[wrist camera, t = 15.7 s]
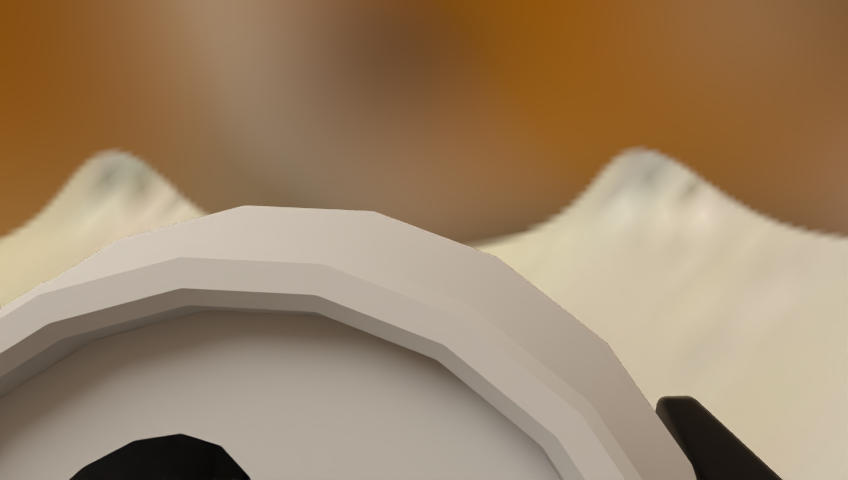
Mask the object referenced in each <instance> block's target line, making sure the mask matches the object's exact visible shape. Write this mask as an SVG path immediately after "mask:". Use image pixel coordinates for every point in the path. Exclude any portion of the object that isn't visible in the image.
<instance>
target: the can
mask: <svg viewBox="0 0 848 480" xmlns="http://www.w3.org/2000/svg"><path fill="white" fill-rule="evenodd" d="M0 480H697V479H696V476H695V473H694V470H693V467H692V464H691V463H690V461H689V460H688V458H687V457H686V455H685V454H684V453H683V451H682V450H681V448H680V447H679V445H678V444H677V443H676V441H675V440H674V438H673V437H672V435H671V434H670V432H669V431H668V430H667V428H666V427H665V425H664V424H663V422H662V421H661V420H660V418H659V417H658V415H657V414H656V412H655V411H654V409H653V408H652V407H651V405H650V404H649V402H648V401H647V399H646V398H645V397H644V395H643V394H642V392H641V391H640V389H639V388H638V386H637V385H636V384H635V382H634V381H633V379H632V378H631V376H630V375H629V374H628V372H627V371H626V369H625V368H624V366H623V365H622V364H621V362H620V361H619V359H618V358H617V356H616V355H615V353H614V352H613V351H612V349H611V348H610V346H609V345H608V343H607V342H605V341H604V340H603V339H602V338H600V337H599V336H598V335H596V334H595V333H594V332H593V331H591V330H590V329H589V328H587V327H586V326H585V325H584V324H582V323H581V322H580V321H579V320H577V319H576V318H575V317H573V316H572V315H571V314H570V313H568V312H567V311H566V310H564V309H563V308H562V307H561V306H559V305H558V304H557V303H556V302H554V301H553V300H552V299H550V298H549V297H548V296H547V295H545V294H544V293H543V292H541V291H540V290H539V289H538V288H536V287H535V286H534V285H532V284H531V283H530V282H529V281H527V280H526V279H525V278H524V277H522V276H521V275H520V274H518V273H517V272H516V271H515V270H513V269H512V268H511V267H509V266H508V265H507V264H506V263H504V262H503V261H502V260H501V259H499V258H498V257H495V256H493V255H490V254H487V253H485V252H482V251H479V250H477V249H474V248H471V247H468V246H466V245H463V244H460V243H458V242H455V241H452V240H450V239H447V238H444V237H442V236H439V235H436V234H434V233H431V232H428V231H425V230H423V229H420V228H417V227H415V226H412V225H409V224H406V223H404V222H401V221H399V220H396V219H393V218H390V217H388V216H385V215H382V214H380V213H377V212H374V211H355V210H354V211H353V210H333V209H311V208H289V207H266V206H241V207H237V208H233V209H229V210H226V211H222V212H218V213H214V214H210V215H207V216H203V217H199V218H195V219H192V220H188V221H184V222H180V223H176V224H173V225H169V226H165V227H161V228H158V229H154V230H150V231H146V232H143V233H139V234H135V235H131V236H127V237H124V238H120V239H117V240H115V241H114V242H112V243H111V244H109V245H107V246H106V247H104V248H102V249H101V250H99V251H98V252H96V253H94V254H93V255H91V256H89V257H88V258H86V259H85V260H83V261H81V262H80V263H78V264H76V265H75V266H73V267H72V268H70V269H68V270H67V271H65V272H63V273H62V274H60V275H59V276H57V277H55V278H54V279H52V280H49V281H46V282H43V283H41V284H39V285H38V286H36V287H34V288H33V289H31V290H30V291H28V292H26V293H25V294H23V295H21V296H20V297H18V298H17V299H15V300H13V301H12V302H10V303H8V304H7V305H5V306H4V307H2V308H0Z"/></svg>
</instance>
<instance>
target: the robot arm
mask: <svg viewBox="0 0 848 480" xmlns="http://www.w3.org/2000/svg"><path fill="white" fill-rule="evenodd" d="M655 412H656V414H657V415H658V417H659V418H660V420H661V421H662V422H663V424H664V425H665V427H666V428H667V430H668V431H669V432H670V434H671V435H672V437H673V438H674V440H675V441H676V443H677V444H678V445H679V447H680V448H681V450H682V451H683V453H684V454H685V455H686V457H687V458H688V460H689V461H690V463H691V464H692V467H693V470H694V473H695V476H696V479H697V480H782V479H781V478H780V477H779V476H778V475H777V474H776V473H775V472H774V471H773V470H771V469H770V468H769V467H768V466H767V465H766V464H765V463H764V462H763V461H762V460H761V459H760V458H758V457H757V456H756V455H755V454H754V453H753V452H752V451H751V450H750V449H749V448H748V447H747V446H746V445H744V444H743V443H742V442H741V441H740V440H739V439H738V438H737V437H736V436H735V435H734V434H733V433H732V432H730V431H729V430H728V429H727V428H726V427H725V426H724V425H723V424H722V423H721V422H720V421H719V420H718V419H716V418H715V417H714V416H713V415H712V414H711V413H710V412H709V411H708V410H707V409H706V408H705V407H704V406H702V405H701V404H700V403H699V402H698V401H697V400H696V399H694V398H692V397H690V396H665V397H662V398H660V399H659V401H658V403H657V406H656V411H655Z"/></svg>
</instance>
